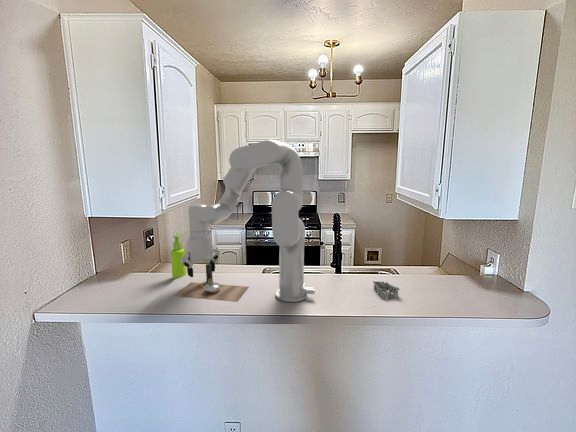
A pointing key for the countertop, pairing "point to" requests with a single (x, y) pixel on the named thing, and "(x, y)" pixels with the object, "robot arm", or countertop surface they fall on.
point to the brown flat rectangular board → (224, 294)
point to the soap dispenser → (177, 258)
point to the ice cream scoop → (211, 281)
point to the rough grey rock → (385, 289)
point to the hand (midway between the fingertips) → (201, 273)
